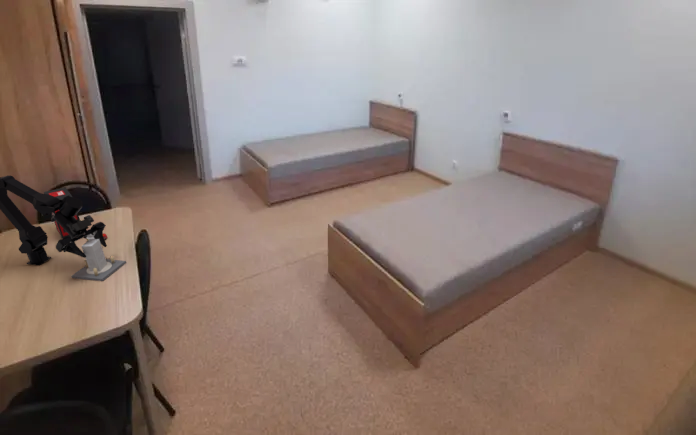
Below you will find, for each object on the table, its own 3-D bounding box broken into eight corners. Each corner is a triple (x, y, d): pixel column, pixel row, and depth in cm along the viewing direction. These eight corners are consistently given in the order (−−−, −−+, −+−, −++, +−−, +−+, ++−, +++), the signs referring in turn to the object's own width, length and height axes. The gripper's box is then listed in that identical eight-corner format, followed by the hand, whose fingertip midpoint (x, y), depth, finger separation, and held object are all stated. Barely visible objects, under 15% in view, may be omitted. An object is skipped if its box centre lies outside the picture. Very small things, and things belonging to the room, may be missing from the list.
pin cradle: (71, 277, 160) (68, 269, 158) (97, 260, 172) (94, 252, 171) (102, 281, 158) (100, 272, 156) (126, 262, 170) (124, 254, 169)
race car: (110, 238, 191) (107, 231, 189) (99, 243, 187) (97, 236, 185) (92, 233, 196) (90, 225, 195) (81, 237, 192) (79, 230, 190)
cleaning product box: (84, 234, 194) (72, 196, 186) (63, 240, 189) (49, 201, 180) (77, 223, 205) (65, 187, 197) (56, 229, 200) (43, 192, 191)
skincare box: (96, 264, 167) (89, 238, 162) (107, 263, 168) (99, 238, 162) (89, 271, 162) (80, 246, 157) (100, 271, 162) (92, 245, 157)
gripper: (51, 221, 148) (80, 253, 149) (96, 203, 163) (122, 231, 164) (43, 236, 154) (72, 266, 155) (88, 217, 169) (113, 245, 170)
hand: (96, 251), depth 161 cm, fingers open, 9 cm apart
